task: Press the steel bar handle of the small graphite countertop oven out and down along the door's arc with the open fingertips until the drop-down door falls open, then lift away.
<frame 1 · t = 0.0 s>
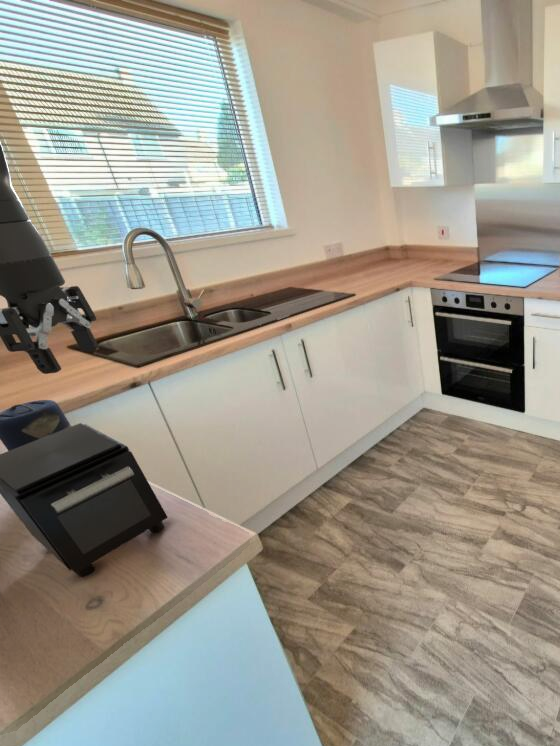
hand: (72, 361, 68), 30 cm above the table, tool pointing down, fingers open, 8 cm apart
oven: (108, 537, 74), on the table
canister: (68, 479, 91), on the table
oven door: (108, 513, 65), point 10 cm above the table, hinge at 0.0°
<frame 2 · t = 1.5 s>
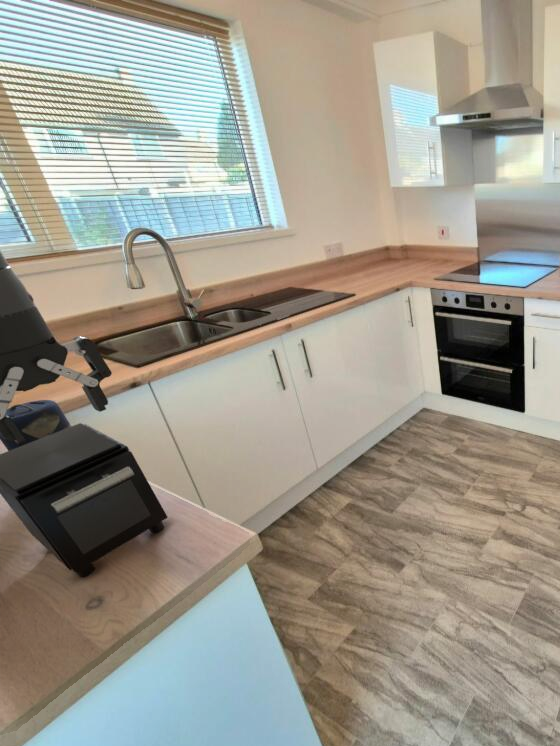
hand: (62, 424, 58), 26 cm above the table, tool pointing down, fingers open, 8 cm apart
nothing on the table moved.
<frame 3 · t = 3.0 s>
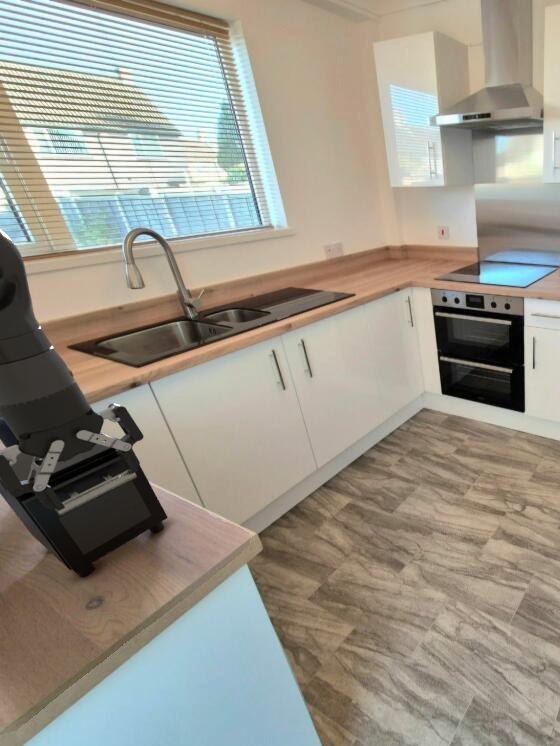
hand: (98, 488, 61), 16 cm above the table, tool pointing down, fingers open, 8 cm apart
oven door: (109, 515, 65), point 10 cm above the table, hinge at 3.0°, touching gripper
everything else where it was.
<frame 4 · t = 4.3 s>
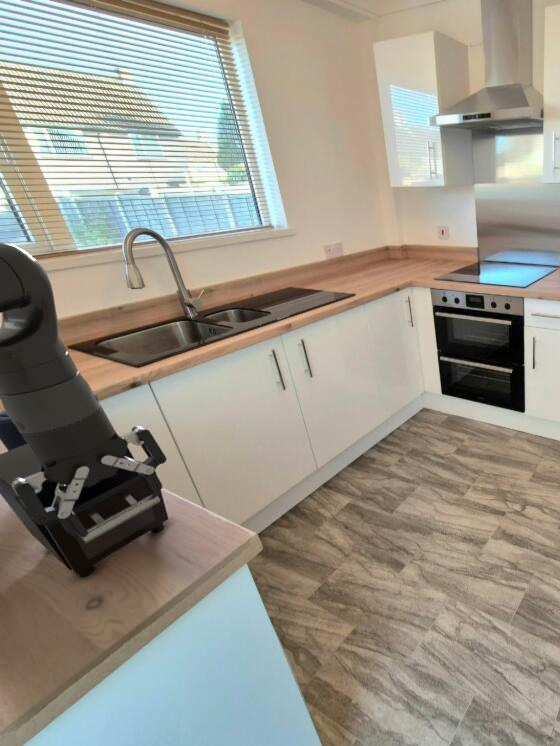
hand: (120, 512, 60), 13 cm above the table, tool pointing down, fingers open, 8 cm apart
oven door: (122, 529, 65), point 8 cm above the table, hinge at 27.3°
everything else where it was.
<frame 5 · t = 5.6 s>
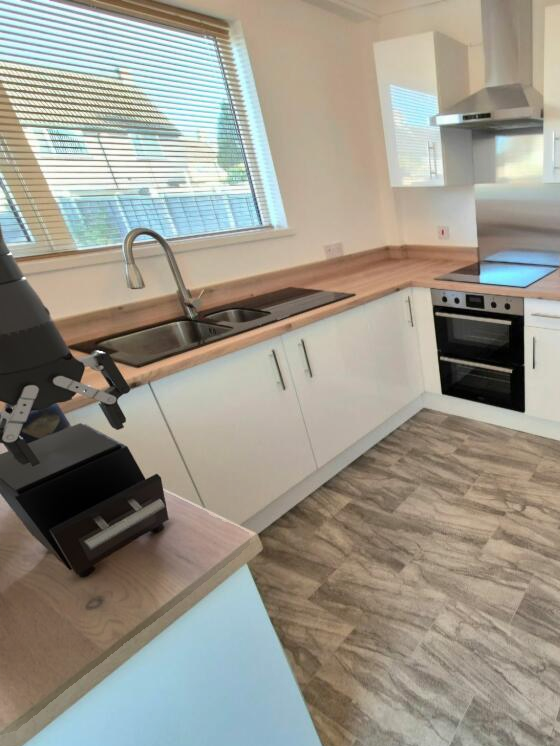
hand: (78, 444, 55), 25 cm above the table, tool pointing down, fingers open, 8 cm apart
oven door: (125, 532, 65), point 8 cm above the table, hinge at 32.0°
everything else where it was.
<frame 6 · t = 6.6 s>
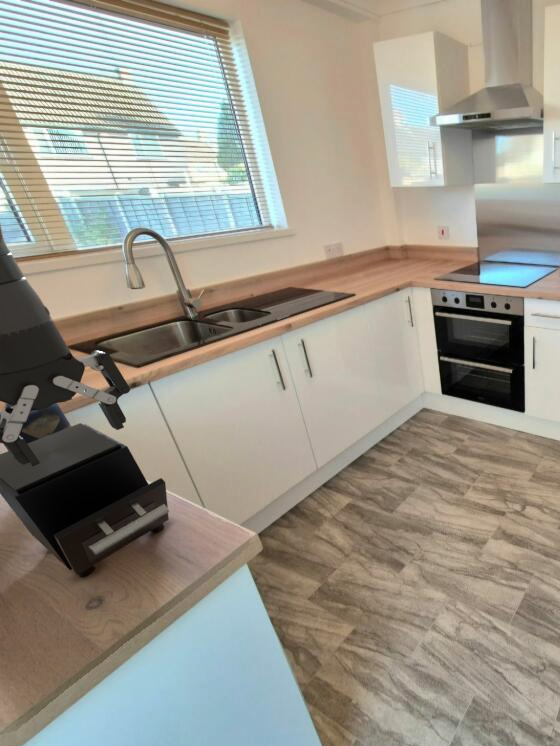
hand: (78, 444, 55), 25 cm above the table, tool pointing down, fingers open, 8 cm apart
oven door: (127, 535, 65), point 7 cm above the table, hinge at 36.1°
everything else where it was.
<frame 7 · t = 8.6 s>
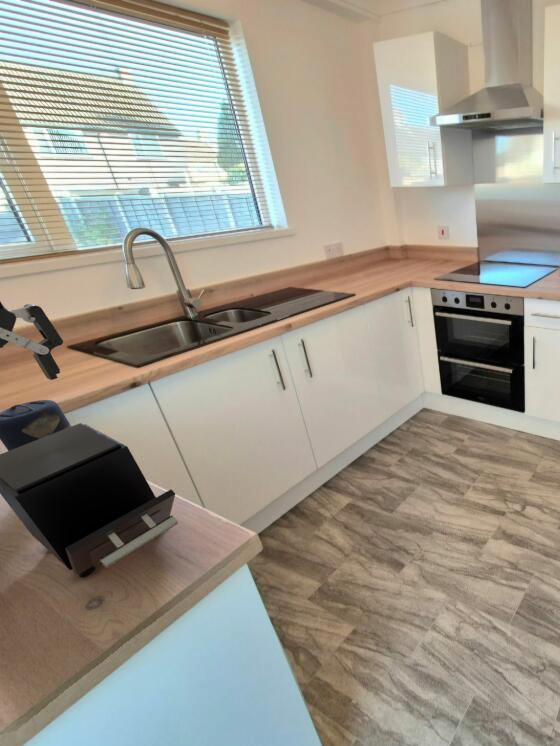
hand: (11, 391, 59), 30 cm above the table, tool pointing down, fingers open, 8 cm apart
oven door: (132, 541, 65), point 6 cm above the table, hinge at 45.8°
everything else where it was.
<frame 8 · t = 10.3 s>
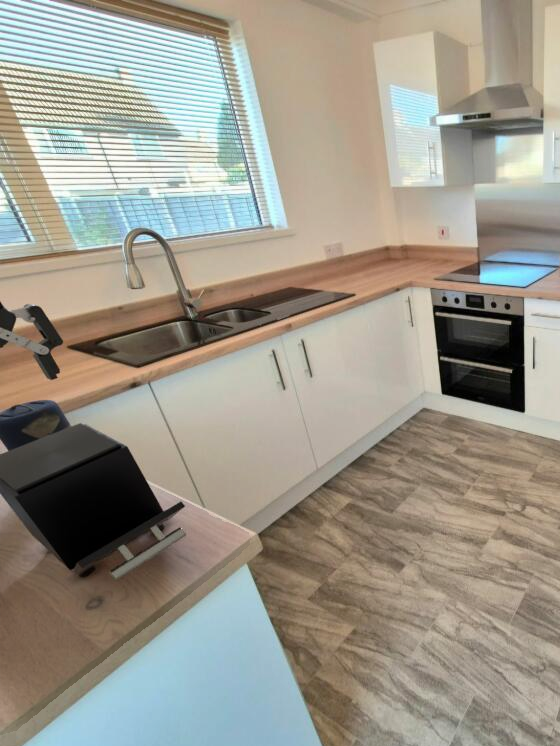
hand: (11, 391, 59), 30 cm above the table, tool pointing down, fingers open, 8 cm apart
oven door: (137, 548, 65), point 5 cm above the table, hinge at 55.5°
everything else where it was.
at the end: oven door at +56° (first picture: +0°) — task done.
